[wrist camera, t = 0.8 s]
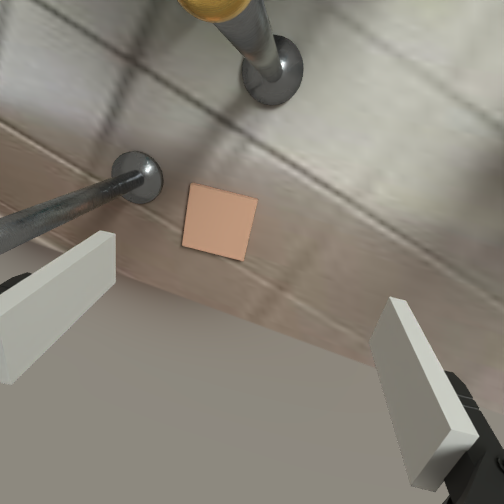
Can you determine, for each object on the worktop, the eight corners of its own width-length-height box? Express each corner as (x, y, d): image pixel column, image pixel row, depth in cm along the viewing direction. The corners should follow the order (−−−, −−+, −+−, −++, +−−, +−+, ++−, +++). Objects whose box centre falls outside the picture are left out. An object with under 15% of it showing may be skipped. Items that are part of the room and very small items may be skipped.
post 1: (115, 145, 37) (-247, 214, 12) (165, 158, 37) (-99, 253, 12) (114, 195, 40) (-190, 336, 15) (160, 207, 39) (-67, 369, 15)
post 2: (250, 30, 31) (71, -299, 6) (310, 44, 31) (376, -231, 6) (238, 97, 33) (75, 57, 9) (293, 111, 33) (291, 109, 9)
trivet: (192, 182, 38) (190, 183, 37) (258, 198, 38) (257, 200, 37) (183, 243, 41) (181, 245, 40) (244, 258, 41) (243, 261, 40)
